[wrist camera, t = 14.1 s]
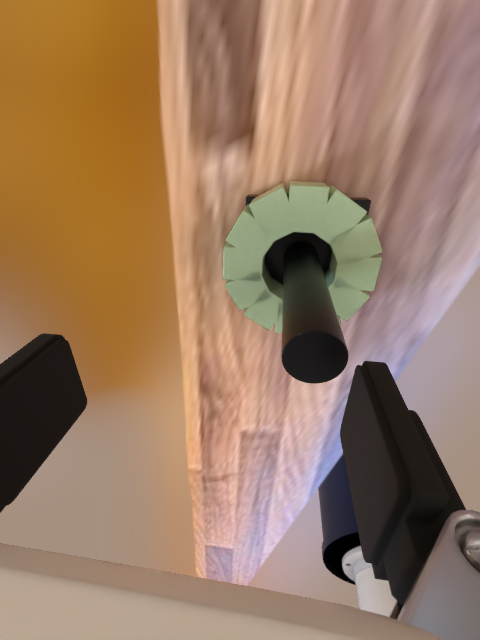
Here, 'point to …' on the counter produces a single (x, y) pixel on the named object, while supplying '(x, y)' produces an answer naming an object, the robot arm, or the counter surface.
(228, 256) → the ring
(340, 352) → the post
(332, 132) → the counter surface
